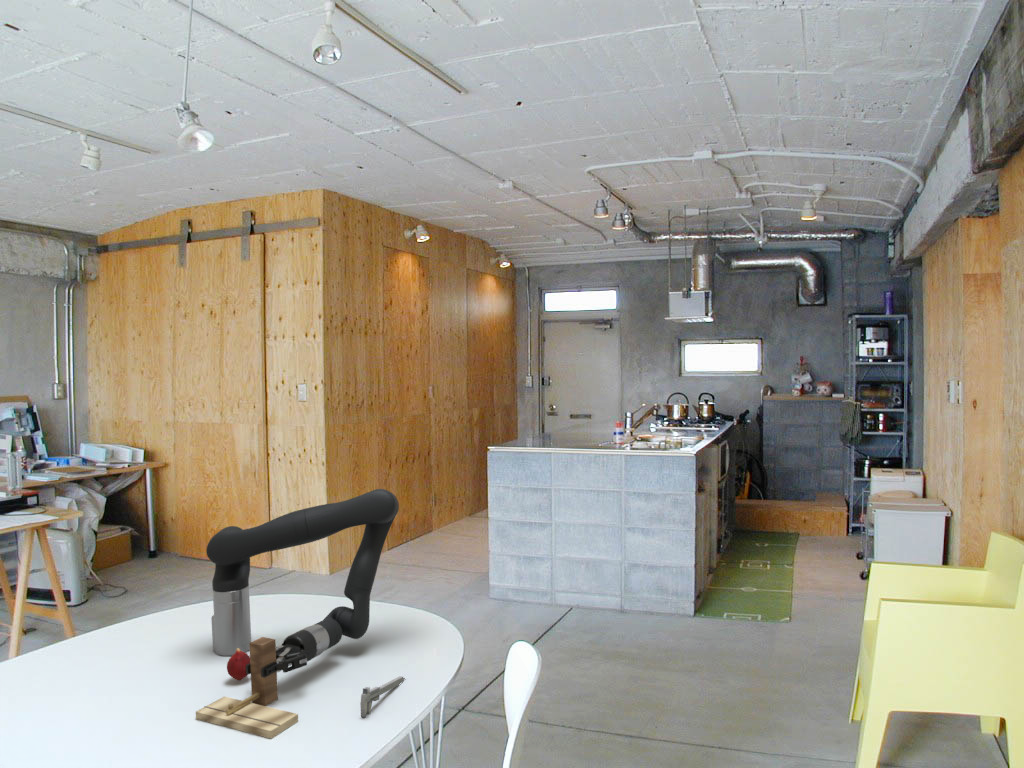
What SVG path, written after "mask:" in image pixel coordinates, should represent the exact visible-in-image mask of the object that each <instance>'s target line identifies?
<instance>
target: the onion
mask: <svg viewBox="0 0 1024 768" xmlns="http://www.w3.org/2000/svg"><path fill="white" fill-rule="evenodd" d="M249 663H250V655H249V654H248V653H246V652H242V651H241V650H240V649H239V648H237V650H236V653H235V654H233V655H230V658H229V659H228V661H227V663H226V671H227V674H228V675H229V676H230V678H232V679H234V680H236V681H238V682H241V681H243V680H244V679H245V678H247V676H249V674H246V665H247V664H249Z"/></svg>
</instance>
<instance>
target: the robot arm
mask: <svg viewBox="0 0 1024 768" xmlns="http://www.w3.org/2000/svg"><path fill="white" fill-rule="evenodd" d="M399 507H400V505H399V500H398V498H397V497H396V495H395V494H394V493H393V492H391V491H390V490H387V489H386V488H385V489H384V488H377V489H373V490H371V491H368V492H366V493H363V494H360V495H358V496H355V497H353V498H352V497H351V498H349V499H346V500H343V501H339V502H338V501H337V502H333V503H325V504H320V505H315V506H312V507H307V508H306V507H305V508H301V509H298V510H295V511H290V512H288V513H285V514H283V515H281V516H277V517H276V518H273V519H271V520H269V521H267V522H264V523H263V524H260V525H257V526H254V527H251V528H245V529H242V528H241V527H239V526H235V525H231V526H226V527H224V528H222V529H220V530H219V531H218V532H217V533H216V534H214V535H213V536H212V537H211V538H210V540H209V542H208V544H207V546H206V550H205V551H206V556H207V558H208V560H209V561H210V562H211V563H213V564H215V569H214V575H213V578H212V582H211V584H212V598H213V599H212V601H213V615H211V636H212V651H213V652H215V654H216V655H217V656H223V657H228V656H230V657H231V656H232V655H233V654H235V653H236V650H237V648H239V649H240V650H241V651H242V652H244V653H246V652H248V651H250V646H249V643H251V642H252V629H251V628H252V627H251V625H252V624H251V607H250V606H251V604H250V603H251V601H250V586H249V585H250V583H249V579H250V574H251V558H252V557H255V556H258V555H262V554H263V553H268V552H273V551H279V550H286V549H287V548H292V547H298V546H303V545H306V544H309V543H313V542H317V541H320V540H322V539H325V538H329V537H330V536H332V535H335V534H337V533H339V532H341V531H344V530H346V529H349V528H353V527H359V526H365V527H364V531H363V534H362V539H361V541H360V544H359V546H358V549H357V551H356V554H355V556H354V558H353V561H352V563H351V566H350V569H349V572H348V575H347V579H346V583H345V587H344V590H343V595H344V596H345V597H346V598H347V599H349V600H350V601H351V602H352V606H353V607H352V608H351V607H347V606H337V607H335V608H332V609H331V611H330V612H329V613H328V614H327V615H326V616H325V617H324V618H323V619H322V620H320V621H318V622H317V623H314V624H312V625H309V626H306V627H304V628H302V629H300V630H299V631H298V630H297V631H296V632H294V633H291V634H290V635H288V636H287V637H286V638H284V640H283V641H282V644H281V645H279V646H276V661H275V662H272V663H270V664H268V665H266V666H264V667H262V668H261V677H263V678H265V677H267V676H269V675H270V674H272V673H274V672H277V673H280V672H282V673H289V672H291V671H294V670H298V669H300V668H303V667H306V666H307V665H308V662H309V661H311V660H313V659H314V658H316V657H318V656H320V655H321V654H322V653H324V652H325V651H327V650H329V649H330V648H332V647H334V646H336V645H337V644H338V643H339V642H340V641H341V639H342V637H343V636H345V637H347V638H350V639H353V640H358V639H360V638H362V637H364V635H365V634H366V633H367V631H368V628H369V625H370V611H371V610H370V605H371V604H370V603H371V602H370V601H371V592H372V589H373V586H374V582H375V578H376V574H377V570H378V567H379V562H380V560H381V559H380V558H381V555H382V551H383V548H384V545H385V542H386V540H387V539H386V538H387V536H388V533H389V532H390V529H391V527H392V525H393V522H394V520H395V518H396V516H397V515H398V512H399V509H400V508H399ZM246 674H248V675H251V666H250V663H249V664H247V665H246Z"/></svg>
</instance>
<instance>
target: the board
mask: <svg viewBox="0 0 1024 768" xmlns="http://www.w3.org/2000/svg"><path fill="white" fill-rule="evenodd" d="M241 701H242V700H241V699H237V698H232V697H229V696H221V697H220V698H218V699H217V700H215V701H212V702H211V703H210V704H207V705H206V706H205V705H204V706H203V707H202V708H200V709H198V710H196V711H195V720H197V721H198V720H200V721H202V722H206V723H211V724H214V725H218V726H220V727H225V728H229V729H232V730H233V729H234V730H237V731H241V732H245V733H248V734H252V735H256V736H260V737H264V738H267V739H273V738H275V737H276V736H278V735H279V734H281V733H282V732H283V731H286V730H287V729H289V728H291V727H292V726H293V725H295V724H297V723H298V722H299V713H296V712H295V713H294V712H292V711H291V712H290V711H287V710H283V709H279V708H275V707H270V706H262V705H258V704H254V703H252V702H250V703H248V704H247V705H245V706H243V707H241V708H240V709H238V710H236V711H234V712H233V713H231V714H226V710H227V709H228V705H229V704H233V706H234V705H235V704H237V703H239V702H241Z"/></svg>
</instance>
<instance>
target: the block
mask: <svg viewBox="0 0 1024 768" xmlns="http://www.w3.org/2000/svg"><path fill="white" fill-rule="evenodd" d="M249 646H250V649H249V657H250V666H251V674H250V685H251V686H250V687H251V688H250V689H251V695H250V696H248V697H247V698H245V699H243V700H241V702H239V703H237V704H235V705H234V706H233V704H229V705H228V709H227V710H226V714H231V713H233V712H234V711H236V710H238V709H240V708H241V707H243V706H245V705H247V704H248V703H254V704H258V705H262V706H266V707H268V705H270V704H272V703H273V702H275V701H276V700H278V699H279V695H278V694H279V692H278V689H279V688H278V672H274V673H272V674H270V675H269V676H267V677H265V678H263V677H261V668H262V667H264V666H266V665H268V664H270V663H272V662H275V661H276V647H277V646H276V639H275V638H271V637H265V636H261V637H259V638H257V639H255V640H253V641H251V643H249Z"/></svg>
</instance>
